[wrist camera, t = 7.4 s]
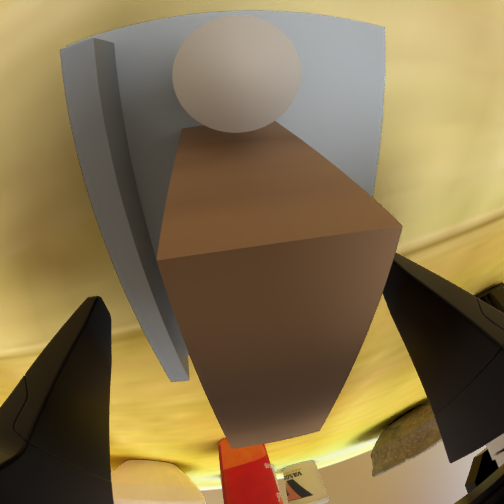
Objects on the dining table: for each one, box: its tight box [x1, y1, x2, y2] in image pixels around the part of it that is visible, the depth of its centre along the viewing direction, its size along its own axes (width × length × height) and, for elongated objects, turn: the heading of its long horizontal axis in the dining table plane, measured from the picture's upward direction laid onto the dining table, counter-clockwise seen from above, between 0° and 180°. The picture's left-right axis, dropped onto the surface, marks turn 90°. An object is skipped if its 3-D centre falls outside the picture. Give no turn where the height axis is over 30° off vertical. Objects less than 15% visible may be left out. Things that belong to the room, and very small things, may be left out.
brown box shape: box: [156, 121, 403, 449], centre depth 8 cm, size 8×3×7 cm, turn 3°
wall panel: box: [60, 10, 385, 382], centre depth 10 cm, size 16×11×5 cm
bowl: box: [371, 404, 442, 477], centre depth 41 cm, size 21×21×10 cm
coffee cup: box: [283, 460, 329, 504], centre depth 48 cm, size 9×9×12 cm
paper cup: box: [219, 438, 283, 504], centre depth 25 cm, size 8×8×14 cm
